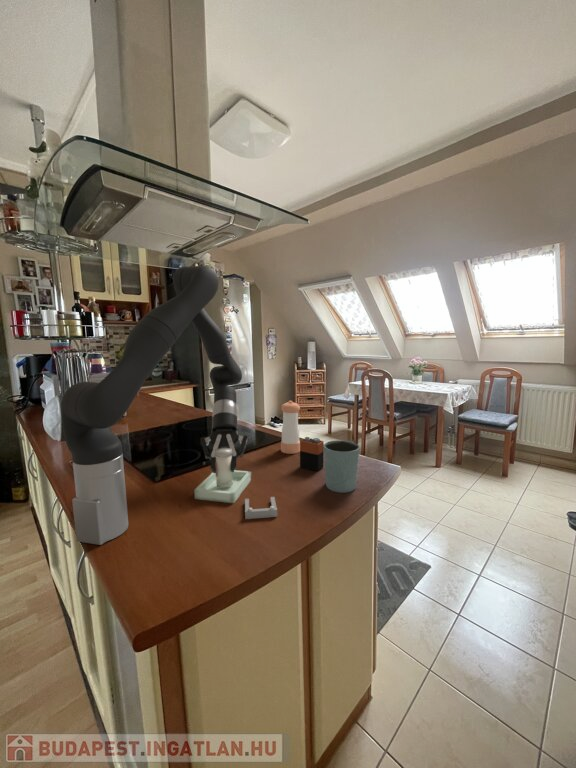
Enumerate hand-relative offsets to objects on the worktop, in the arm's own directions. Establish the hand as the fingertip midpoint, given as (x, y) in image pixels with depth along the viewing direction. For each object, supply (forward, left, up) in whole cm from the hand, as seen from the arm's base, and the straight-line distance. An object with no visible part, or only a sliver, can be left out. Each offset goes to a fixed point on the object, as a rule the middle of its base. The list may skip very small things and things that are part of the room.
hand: (223, 471), depth 87 cm
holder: (-6, -12, -6) cm, 15 cm away
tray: (+2, +1, -6) cm, 6 cm away
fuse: (+2, +1, -5) cm, 5 cm away
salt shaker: (+36, -11, -6) cm, 38 cm away
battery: (+22, -21, -6) cm, 31 cm away
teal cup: (+11, -31, -6) cm, 34 cm away
